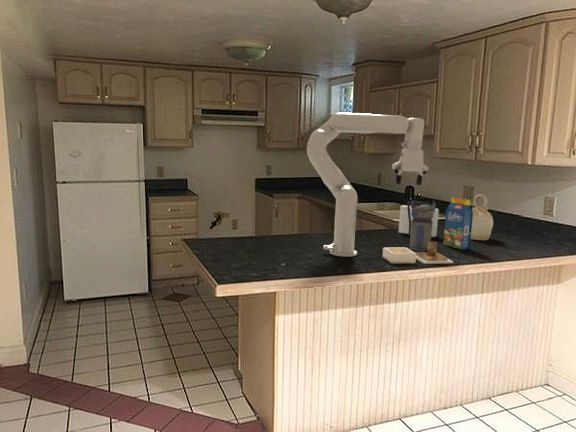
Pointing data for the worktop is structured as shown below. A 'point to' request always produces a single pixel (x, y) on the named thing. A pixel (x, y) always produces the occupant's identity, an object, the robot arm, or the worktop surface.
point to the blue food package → (458, 224)
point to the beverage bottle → (420, 225)
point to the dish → (399, 255)
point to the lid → (431, 253)
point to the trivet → (432, 261)
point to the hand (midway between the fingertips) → (408, 184)
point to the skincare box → (405, 220)
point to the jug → (481, 220)
